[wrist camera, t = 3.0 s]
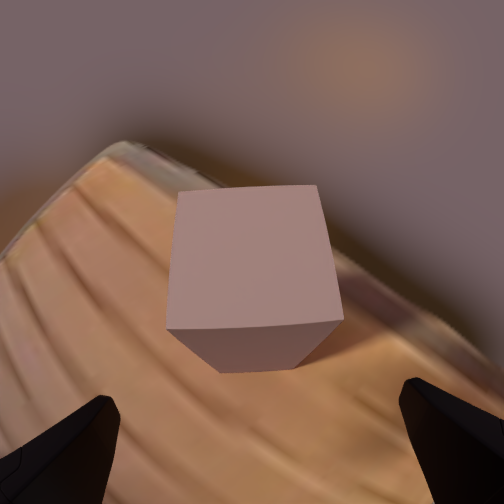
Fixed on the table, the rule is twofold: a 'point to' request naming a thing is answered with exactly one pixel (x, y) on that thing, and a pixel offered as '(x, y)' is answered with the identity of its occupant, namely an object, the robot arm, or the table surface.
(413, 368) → the table surface
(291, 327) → the rose card box
